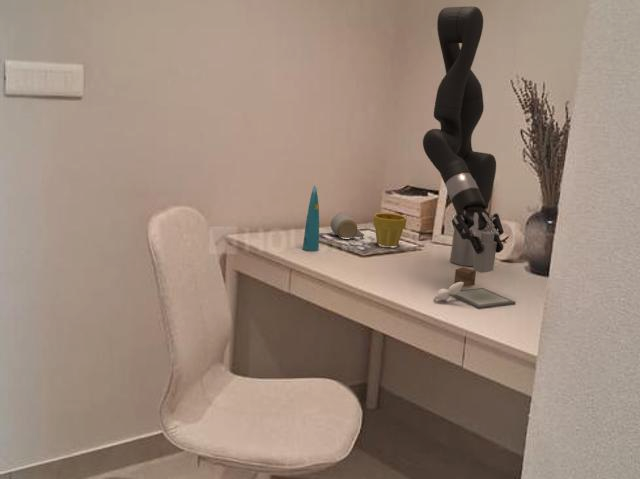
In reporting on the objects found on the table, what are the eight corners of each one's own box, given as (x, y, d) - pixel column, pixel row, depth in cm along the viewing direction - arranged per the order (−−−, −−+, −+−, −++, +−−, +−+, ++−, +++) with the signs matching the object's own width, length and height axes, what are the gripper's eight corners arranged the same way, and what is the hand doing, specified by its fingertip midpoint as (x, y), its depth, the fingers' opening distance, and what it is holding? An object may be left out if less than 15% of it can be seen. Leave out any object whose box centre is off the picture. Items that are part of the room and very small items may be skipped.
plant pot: (405, 250, 224) (408, 220, 222) (372, 248, 224) (374, 218, 222) (401, 243, 234) (404, 214, 232) (370, 241, 234) (373, 211, 232)
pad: (482, 290, 187) (482, 287, 187) (515, 304, 177) (515, 301, 177) (446, 294, 182) (447, 291, 181) (478, 308, 171) (479, 306, 171)
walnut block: (461, 281, 195) (463, 267, 194) (474, 284, 192) (476, 270, 191) (454, 283, 192) (455, 269, 191) (467, 287, 189) (468, 273, 188)
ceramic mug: (336, 240, 231) (338, 217, 230) (329, 234, 239) (331, 212, 237) (367, 241, 234) (369, 218, 233) (359, 235, 242) (361, 213, 240)
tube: (320, 252, 215) (325, 189, 210) (305, 252, 213) (309, 188, 209) (315, 246, 222) (320, 185, 217) (300, 246, 221) (304, 184, 216)
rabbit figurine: (429, 297, 178) (458, 284, 179) (437, 311, 177) (465, 297, 177) (431, 291, 172) (460, 277, 173) (439, 305, 171) (468, 291, 172)
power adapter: (494, 270, 178) (501, 223, 176) (482, 273, 175) (488, 225, 172) (483, 267, 181) (490, 220, 178) (471, 269, 177) (477, 222, 174)
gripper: (451, 186, 176) (477, 245, 169) (494, 186, 183) (521, 242, 176) (435, 203, 182) (459, 260, 174) (477, 202, 189) (503, 257, 181)
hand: (490, 251), depth 175 cm, fingers closed on power adapter, 5 cm apart
